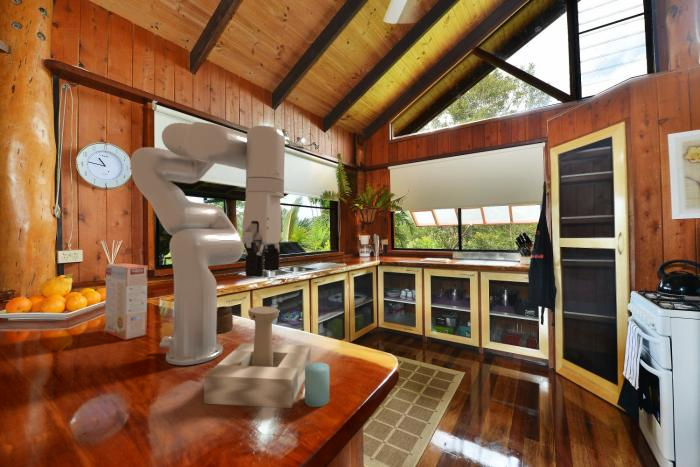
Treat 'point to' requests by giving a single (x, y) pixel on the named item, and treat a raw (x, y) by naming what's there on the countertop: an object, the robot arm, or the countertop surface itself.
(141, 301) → the cracker box
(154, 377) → the countertop surface
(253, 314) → the handle
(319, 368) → the short dowel
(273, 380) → the socket block
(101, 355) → the countertop surface
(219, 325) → the utensil holder
